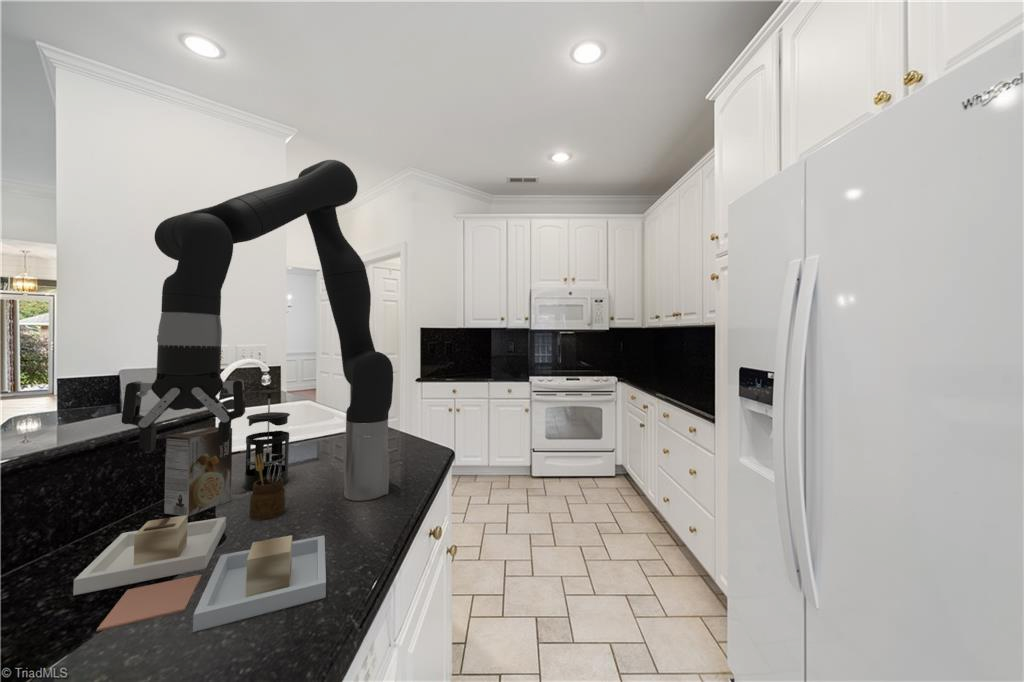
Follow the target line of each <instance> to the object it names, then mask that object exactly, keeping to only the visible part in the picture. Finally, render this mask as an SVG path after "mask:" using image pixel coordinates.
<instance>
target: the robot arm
mask: <svg viewBox="0 0 1024 682" xmlns="http://www.w3.org/2000/svg"><path fill="white" fill-rule="evenodd" d="M358 187H359V186H358V182H357V178H356V176H355V173H354V172H353V171H352V170H351V168H350V167H349V166H348V165H347V164H345V162H342V161H340V160H336V159H325V160H323V161H320V162H318V163H315V164H313V165H310V166H307V168H303V170H302V171H300V172H299V173H298V177H297V178H295V179H291V180H288V181H285V182H282V183H278V184H275V185H272V186H269V187H268V186H266V187H265V188H261V189H256V190H254V191H250V192H247V193H244V194H242V195H238V196H235V197H233V198H229V199H226V200H225V201H223V202H220V203H218V204H216V205H213V206H209V207H204V208H201V209H196V210H191V211H188V212H185V213H181V214H178V215H174V216H171V217H168V218H166V219H165V220H162V221H161V222H160V223H159V225H157V226H156V229H155V231H154V242H155V245H156V247H157V248H158V249H159V251H160V252H161V253H162V254H163V255H165V256H166V257H168V258H170V259H172V260H175V261H178V262H177V266H176V270H175V271H174V272H173V273H172V274H171V275H169V276H167V277H166V278H165V279H164V281H163V283H162V284H163V285H162V291H161V313H160V319H159V323H158V329H157V331H158V334H157V335H156V342H157V352H156V356H157V357H156V377H155V380H154V382H142V381H132V382H130V383H126V385H125V388H124V389H125V391H124V398H123V405H122V413H121V423H122V424H124V425H131V426H136V427H138V428H139V441H138V443H139V445H138V446H139V448H140V450H144V453H145V454H149V453H153V452H154V451H155V450H156V448H157V447H156V446H157V426H158V425H157V424H155V422H156V421H157V420H158V419H159V418H160V417H161V416H162V415H163V414H164V413H165V412H166V411H167V410H168V409H170V410H173V411H180V410H181V411H182V410H186V409H190V410H200V409H202V408H205V407H206V409H207V410H208V411H209V412H210V413H211V414H213V415H215V416H216V418H217V420H219V422H218V426H217V427H218V446H224V445H225V442H228V440H229V439H230V437H231V428H232V421H233V420H235V419H238V418H242V417H243V416H244V414H245V413H246V398H245V397H246V394H245V381H244V380H243V379H236V380H229V381H228V380H226V381H224V380H223V379H222V376H221V366H222V364H221V362H222V360H221V359H222V338H223V337H222V336H223V331H222V330H223V329H222V328H223V327H222V322H221V321H222V320H221V311H222V310H221V307H222V303H221V302H222V288H223V285H224V283H225V281H226V278H227V274H228V271H229V269H230V266H231V262H232V259H233V253H234V245H235V244H239V243H244V242H250V241H253V240H256V239H258V238H260V237H262V236H264V235H267V234H268V233H271V232H273V231H275V230H277V229H280V228H281V227H283V226H285V225H287V224H289V223H291V222H293V221H294V220H297V219H298V218H300V217H303V216H305V215H306V218H307V220H308V223H309V227H310V230H311V232H312V236H313V240H314V244H315V248H316V252H317V254H318V255H317V256H318V258H319V262H320V266H321V272H322V278H323V281H324V282H323V283H324V285H325V290H326V295H327V298H328V301H329V306H330V309H331V313H332V316H333V320H334V324H335V326H336V331H337V333H338V338H339V339H338V340H339V344H340V346H339V347H340V353H341V363H342V370H343V375H344V378H345V379H346V382H347V383H348V384H349V385H350V386H352V387H351V400H350V404H349V406H348V407H347V408H346V411H345V414H346V415H345V447H344V449H345V450H344V451H345V455H344V456H345V457H344V459H345V460H344V487H343V488H344V495H343V496H344V497H345V499H347V500H350V501H354V502H355V501H356V502H362V501H370V500H374V499H377V498H381V497H382V496H385V495H386V496H387V495H389V481H390V478H389V476H390V453H389V450H388V449H389V448H388V444H389V443H388V442H389V441H388V440H389V439H388V438H389V414H390V413H389V411H390V409H391V407H392V403H393V390H394V389H393V387H394V367H393V364H392V361H391V359H390V358H389V357H388V356H387V355H386V354H385V353H382V352H379V351H376V349H375V344H374V341H373V339H372V334H371V327H370V325H371V324H370V318H371V305H372V303H371V302H372V301H371V300H372V297H371V296H372V294H371V293H372V292H371V286H370V282H369V277H368V273H367V268H366V266H365V265H366V264H364V261H363V259H362V258H361V256H360V255H359V254H358V253H357V251H356V250H355V249H354V247H353V246H352V245H351V244H350V243H349V242H348V240H347V239H346V237H345V235H344V234H343V232H342V230H341V227H340V223H339V220H338V219H339V218H338V215H337V208H338V207H341V206H344V205H347V204H349V203H351V202H352V201H353V200H354V199H355V198H356V195H357V194H358ZM223 389H226V390H227V393H228V394H230V395H233V410H231V411H229V410H228V409H227V408H226V407H225V405H224V404H223V402H221V401H220V400H219V398H218V397H217V396H218V395H219V394H220V392H221V391H222V390H223ZM149 391H151V392H153V393H154V395H155V396H156V397H157V398H158V399H159V401H158V402H157V403H156V404H155V405H153V407H152V408H150V410H149V411H148V412H147V413H146V414H145V415H143V414H141V413H140V412H141V406H142V399H143V397H146V396H147V395H148V393H149Z"/></svg>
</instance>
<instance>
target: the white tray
mask: <svg viewBox="0 0 1024 682" xmlns="http://www.w3.org/2000/svg"><path fill="white" fill-rule="evenodd" d="M226 527H227V516H225V517H216V518H211V519H204V520H203V519H202V520H199V521H192V522H187V545H186V547H185V549H184V550H183V552H182V553H181V555H180V556H179V557H177V558H171V559H166V560H161V561H155V562H150V563H144V564H139V565H134V538H135V534H136V533H137V532H138V531H139V530H133V531H128V532H122V533H120V534H119V536H118V537H116V538H115V539H114V540H113V541H112V543H111V544H110V545H108V546H106V548H105V549H104V550H103V551H102V552H101V553H100V554H99V555H98V556H97V557H96V558H95V559H94V560H93V561H92V562H91V563H89V564H88V565H87V567H86V568H84V569H83V571H82V572H80V573H79V574H78V576H76V577H75V578H74V579H73V592H72V593H73V594H72V595H73V596H77V595H82V594H87V593H91V592H92V593H93V592H97V591H102V590H107V589H112V588H116V587H122V586H127V585H131V584H137V583H141V582H146V581H147V582H148V581H151V580H157V579H162V578H166V577H171V576H172V577H173V576H176V575H180V574H186V573H191V572H197V571H201V570H206V569H207V566H208V565H209V562H210V560H211V558H212V556H213V555H214V552H215V551H216V549H217V547H218V545H219V542H221V539H222V536H223V535H224V533H225V531H226V529H227V528H226Z"/></svg>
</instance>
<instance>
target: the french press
mask: <svg viewBox="0 0 1024 682" xmlns="http://www.w3.org/2000/svg"><path fill="white" fill-rule="evenodd" d="M258 393H259V394H266V399H267V401H268V403H267V407H268V408H267V412H260V413H254V414H250V415H248V416H246V419H247V420H248V427H251V426H252V425H253V424H254V425H255V424H257V423H264V422H267V431H263V432H262V431H260V432H257V433H252V434H249V435H247V436H246V437H245V445H246V450H245V454H246V455H245V472H244V484H243V487H242V488H243V489H244V490H246V491H249V492H253V484H254V482H256V481H258V480H261V479H260V473H259V471H256V466H255V458H254V456H251V453H252V451H251V450H252V449H251V446H255V448H254V449H255V450H254V451H255V453H254V455H256V459H257V465H258V458H257V455H258V454H259V458H260V454H262V458H263V464H264V469H263V470H262V477H263V479H264V478H270V477H280V478H282V479H283V482H284V485H283V486H285V485H287V484H288V483H289V482H290V478H289V449H290V448H289V445H290V432H288V431H285V430H273V431H272V430H270V424H271V425H274V426H279V427H280V426H285V425H287V424H288V419H289V418H288V417H290V416H291V413H289V412H284V411H283V412H278V411H275V412H274V411H273V412H272V411H271V399H272V397H273V394H277V393H280V390H275V389H272V390H271V389H269V390H268V389H267V390H262V391H259V392H258ZM270 411H271V412H270ZM270 437H271V438H270ZM262 438H264V439H262ZM266 438H267V439H266ZM283 442H285V443H284V453H283ZM270 445H271V453H270V452H269V451H270V450H269V449H270V448H269V446H270ZM264 446H267V447H266V453H265V452H264V450H265V449H264ZM283 462H284V464H283ZM272 463H273V464H272ZM274 463H276V464H274ZM278 463H280V464H278ZM260 464H261V458H260ZM251 466H254V467H252V468H251ZM278 466H279V467H278ZM268 467H269V468H268ZM270 467H271V470H270ZM274 467H276V469H274ZM281 467H282V468H281ZM269 470H270V471H269ZM279 470H280V472H279ZM267 471H268V473H267ZM278 472H279V474H278ZM273 473H275V474H273ZM280 474H281V475H280ZM268 475H269V477H268ZM286 483H287V484H286Z"/></svg>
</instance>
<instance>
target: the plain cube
mask: <svg viewBox="0 0 1024 682" xmlns="http://www.w3.org/2000/svg"><path fill="white" fill-rule="evenodd" d="M292 541H293V535H287V536H285V535H284V536H281V537H277V538H276V537H275V538H271V539H264V540H260V541H253V542H252V544H251V546H250V549H249V550H250V552H249V555H248V558H247V575H246V597H250V596H254V595H258V594H262V593H266V592H270V591H275V590H279V589H283V588H287V587H289V585H290V576H291V567H292Z"/></svg>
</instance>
